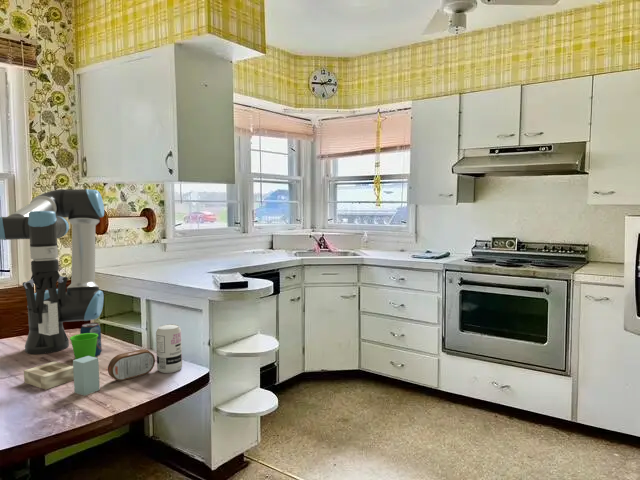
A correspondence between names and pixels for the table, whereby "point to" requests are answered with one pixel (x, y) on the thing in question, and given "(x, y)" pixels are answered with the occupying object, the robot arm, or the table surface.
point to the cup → (84, 344)
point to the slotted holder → (49, 375)
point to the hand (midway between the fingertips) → (48, 331)
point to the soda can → (93, 329)
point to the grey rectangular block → (51, 317)
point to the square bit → (86, 375)
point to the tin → (131, 364)
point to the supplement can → (169, 348)
